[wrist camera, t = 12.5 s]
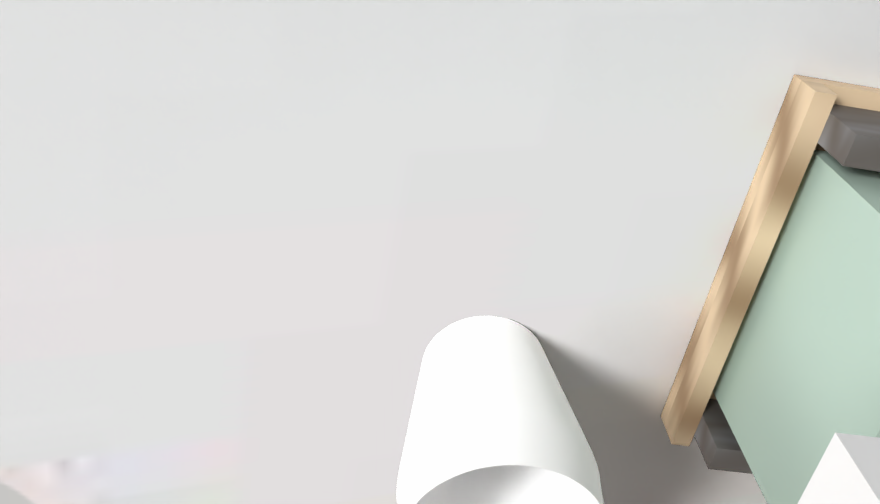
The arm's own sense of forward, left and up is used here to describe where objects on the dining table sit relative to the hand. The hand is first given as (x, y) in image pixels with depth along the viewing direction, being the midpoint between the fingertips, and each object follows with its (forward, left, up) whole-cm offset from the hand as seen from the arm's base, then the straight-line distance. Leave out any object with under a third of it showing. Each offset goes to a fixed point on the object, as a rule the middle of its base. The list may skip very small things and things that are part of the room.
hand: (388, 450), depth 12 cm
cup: (+18, +7, -27) cm, 33 cm away
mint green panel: (+10, +21, -26) cm, 35 cm away
